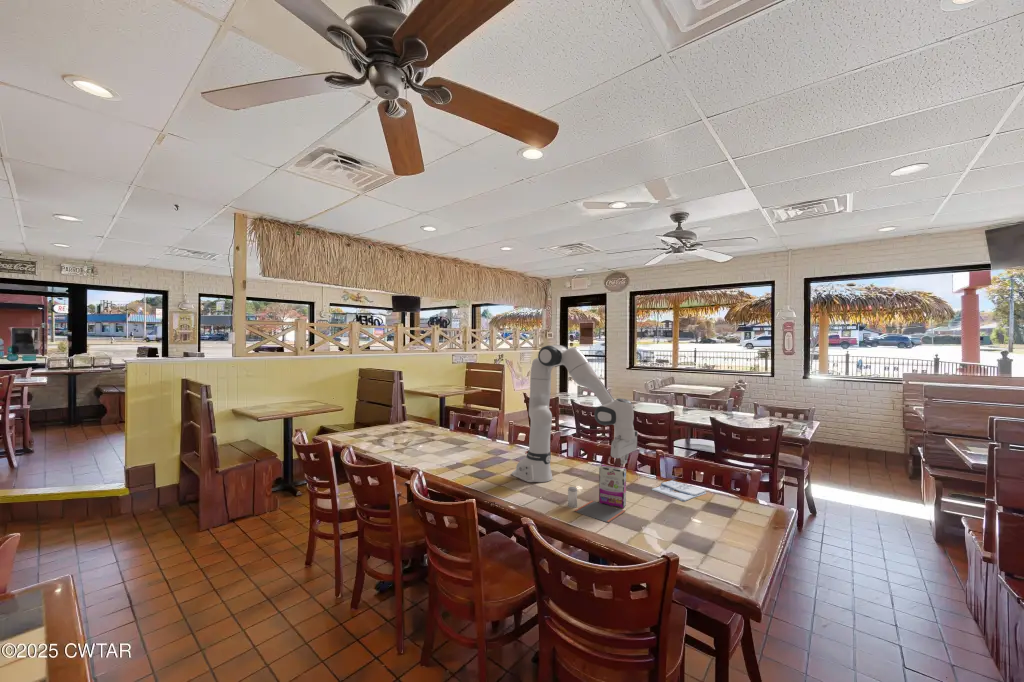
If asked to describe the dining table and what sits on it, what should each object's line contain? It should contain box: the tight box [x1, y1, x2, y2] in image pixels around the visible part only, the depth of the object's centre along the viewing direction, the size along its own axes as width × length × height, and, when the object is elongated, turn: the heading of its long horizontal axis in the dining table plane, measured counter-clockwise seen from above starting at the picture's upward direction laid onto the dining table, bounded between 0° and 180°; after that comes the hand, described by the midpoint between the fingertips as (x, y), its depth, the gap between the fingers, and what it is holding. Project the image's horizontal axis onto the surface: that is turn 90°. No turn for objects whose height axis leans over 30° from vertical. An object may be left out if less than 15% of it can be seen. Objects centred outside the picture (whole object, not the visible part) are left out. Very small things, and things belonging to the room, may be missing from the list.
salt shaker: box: [567, 486, 578, 509], centre depth 179 cm, size 4×4×8 cm
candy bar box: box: [598, 464, 627, 509], centre depth 181 cm, size 11×5×16 cm, turn 61°
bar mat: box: [574, 500, 626, 524], centre depth 173 cm, size 16×15×1 cm
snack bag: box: [650, 480, 707, 502], centre depth 198 cm, size 19×20×2 cm
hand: (624, 463), depth 189 cm, fingers closed
